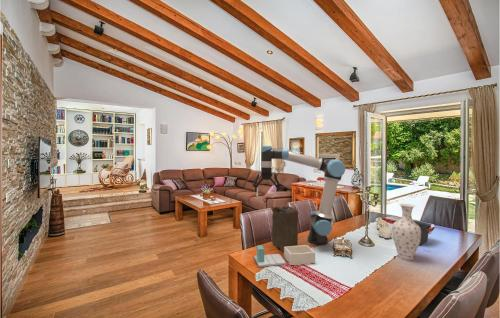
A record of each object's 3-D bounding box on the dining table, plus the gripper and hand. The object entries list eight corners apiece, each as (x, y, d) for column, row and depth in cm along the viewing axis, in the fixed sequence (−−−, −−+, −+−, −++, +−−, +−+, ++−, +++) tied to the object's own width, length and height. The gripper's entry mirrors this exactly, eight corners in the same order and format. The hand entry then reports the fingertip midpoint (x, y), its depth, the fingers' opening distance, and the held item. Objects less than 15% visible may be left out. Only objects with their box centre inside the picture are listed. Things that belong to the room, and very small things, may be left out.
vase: (395, 250, 171) (396, 201, 170) (422, 257, 159) (424, 205, 158) (388, 257, 160) (389, 204, 158) (417, 265, 148) (419, 209, 147)
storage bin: (413, 236, 199) (413, 219, 198) (435, 242, 186) (436, 224, 185) (400, 242, 187) (401, 223, 186) (423, 248, 174) (424, 229, 174)
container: (298, 253, 165) (299, 209, 164) (286, 255, 161) (286, 211, 160) (282, 241, 186) (282, 202, 185) (270, 243, 182) (271, 203, 181)
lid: (279, 255, 160) (279, 241, 160) (285, 264, 148) (286, 249, 147) (254, 257, 157) (254, 243, 157) (258, 266, 144) (259, 251, 144)
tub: (306, 255, 162) (306, 244, 161) (315, 263, 150) (315, 252, 150) (283, 257, 159) (284, 246, 158) (290, 265, 147) (290, 254, 147)
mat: (279, 255, 161) (279, 254, 161) (286, 265, 147) (286, 264, 147) (253, 257, 157) (253, 257, 157) (258, 267, 144) (258, 267, 144)
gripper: (281, 166, 181) (280, 194, 182) (248, 166, 176) (248, 195, 177) (284, 167, 174) (284, 196, 174) (250, 167, 169) (250, 197, 169)
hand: (266, 196), depth 175 cm, fingers open, 13 cm apart
